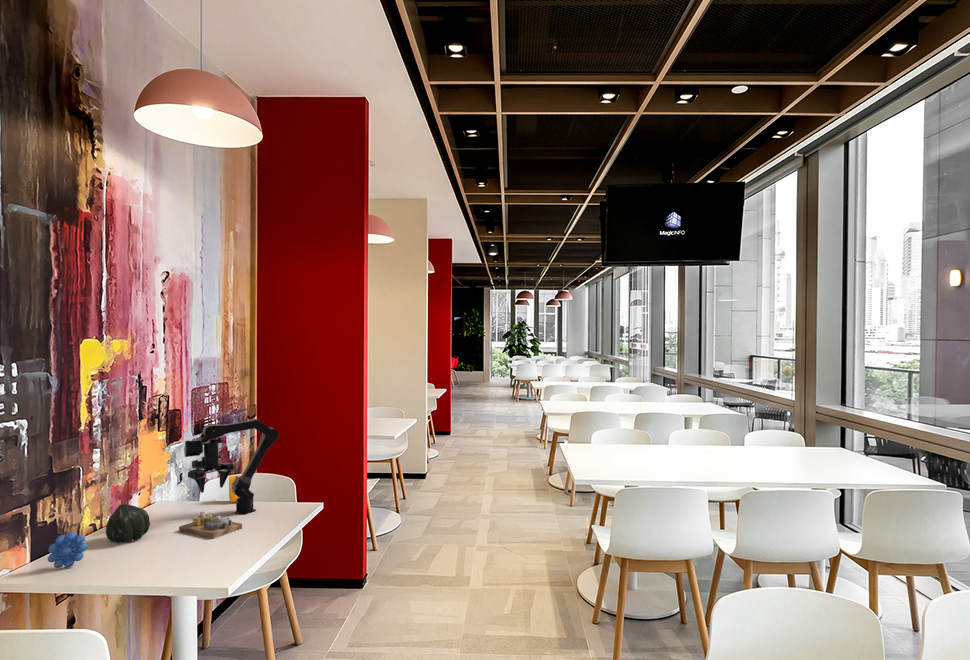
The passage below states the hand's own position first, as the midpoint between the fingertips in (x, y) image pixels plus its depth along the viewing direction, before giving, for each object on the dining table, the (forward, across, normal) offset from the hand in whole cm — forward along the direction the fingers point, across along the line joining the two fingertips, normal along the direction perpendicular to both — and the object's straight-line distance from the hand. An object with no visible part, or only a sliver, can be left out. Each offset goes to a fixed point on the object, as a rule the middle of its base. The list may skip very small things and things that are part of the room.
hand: (211, 490), depth 247 cm
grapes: (+12, +57, +3) cm, 58 cm away
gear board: (+12, +11, +14) cm, 21 cm away
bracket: (+12, -24, -14) cm, 30 cm away
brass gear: (+10, +11, +9) cm, 17 cm away
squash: (+12, +32, -6) cm, 35 cm away
